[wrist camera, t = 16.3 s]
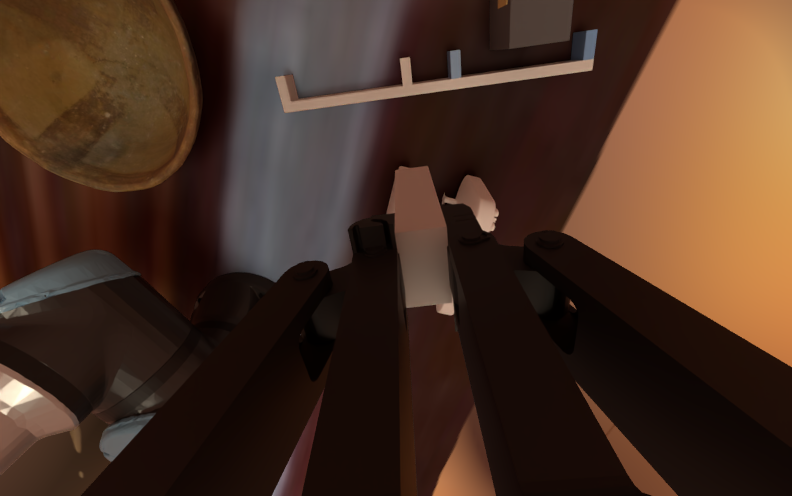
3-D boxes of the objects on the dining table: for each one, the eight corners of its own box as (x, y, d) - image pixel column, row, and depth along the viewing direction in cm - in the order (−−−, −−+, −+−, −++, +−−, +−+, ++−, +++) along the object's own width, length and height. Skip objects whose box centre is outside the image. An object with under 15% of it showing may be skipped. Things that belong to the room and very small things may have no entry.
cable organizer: (400, 153, 42) (398, 184, 32) (482, 173, 43) (505, 210, 33) (375, 255, 49) (367, 307, 39) (445, 271, 50) (456, 325, 40)
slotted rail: (292, 109, 40) (282, 114, 36) (247, -67, 32) (228, -82, 29) (579, 69, 37) (596, 70, 34) (602, -134, 30) (626, -157, 26)
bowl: (10, 73, 39) (-105, 79, 30) (79, -139, 30) (-53, -218, 22) (189, 199, 46) (137, 233, 37) (286, 55, 37) (249, 55, 28)
